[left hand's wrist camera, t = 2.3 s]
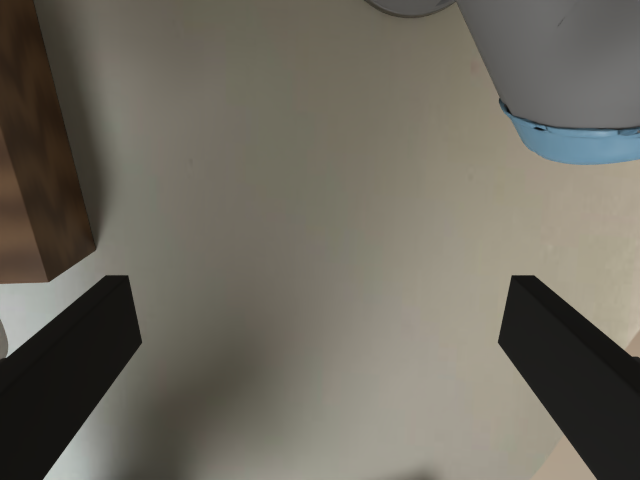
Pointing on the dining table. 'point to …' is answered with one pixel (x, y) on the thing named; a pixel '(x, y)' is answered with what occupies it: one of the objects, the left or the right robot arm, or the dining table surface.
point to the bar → (35, 160)
